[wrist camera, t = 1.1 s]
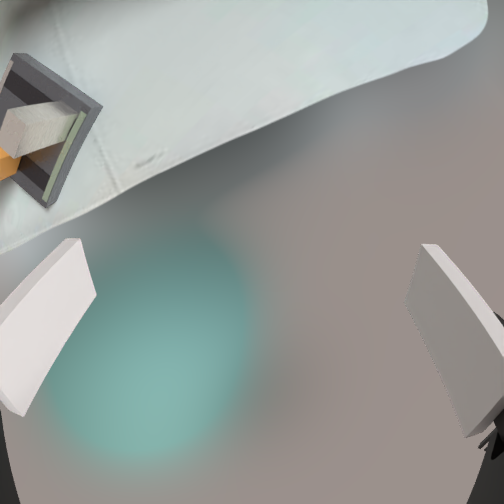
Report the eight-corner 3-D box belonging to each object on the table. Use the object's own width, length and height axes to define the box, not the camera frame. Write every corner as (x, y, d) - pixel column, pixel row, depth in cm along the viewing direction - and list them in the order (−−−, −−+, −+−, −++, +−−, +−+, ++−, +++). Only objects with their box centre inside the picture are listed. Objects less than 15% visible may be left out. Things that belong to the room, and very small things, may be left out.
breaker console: (-9, 142, 34) (-66, 164, 22) (26, 53, 27) (-38, 55, 16) (56, 200, 38) (1, 239, 27) (103, 106, 32) (39, 117, 21)
